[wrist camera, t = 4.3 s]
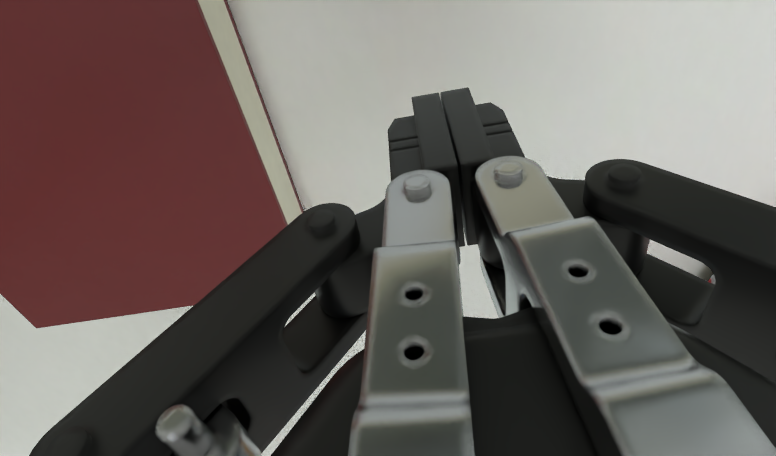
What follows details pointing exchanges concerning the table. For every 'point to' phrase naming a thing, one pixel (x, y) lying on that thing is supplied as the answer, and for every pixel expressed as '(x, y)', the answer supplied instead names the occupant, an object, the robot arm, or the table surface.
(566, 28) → the table surface
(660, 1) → the table surface
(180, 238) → the book
